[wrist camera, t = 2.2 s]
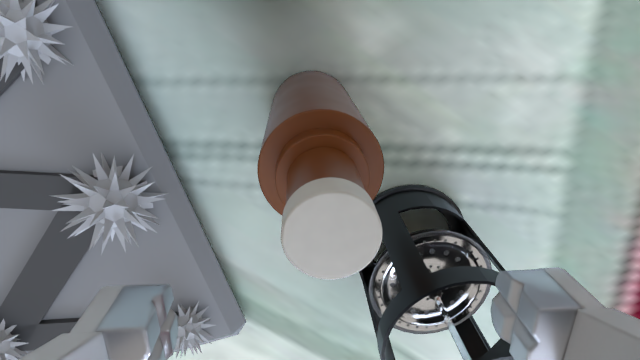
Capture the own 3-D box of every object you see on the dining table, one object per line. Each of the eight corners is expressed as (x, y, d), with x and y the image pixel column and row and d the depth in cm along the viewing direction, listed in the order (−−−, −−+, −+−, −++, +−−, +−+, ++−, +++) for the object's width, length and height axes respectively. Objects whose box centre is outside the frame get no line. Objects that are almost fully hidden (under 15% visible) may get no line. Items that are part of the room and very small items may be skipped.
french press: (322, 221, 32) (374, 616, 11) (424, 154, 31) (709, 472, 10) (397, 314, 37) (541, 734, 15) (491, 260, 35) (797, 647, 14)
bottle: (351, 70, 28) (429, 151, 12) (349, 147, 30) (413, 306, 14) (270, 71, 28) (234, 155, 12) (273, 149, 30) (248, 313, 14)
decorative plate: (-239, 51, 26) (-423, 64, 19) (77, -58, 24) (-3, -83, 18) (26, 381, 37) (-32, 461, 30) (251, 319, 36) (241, 388, 29)
